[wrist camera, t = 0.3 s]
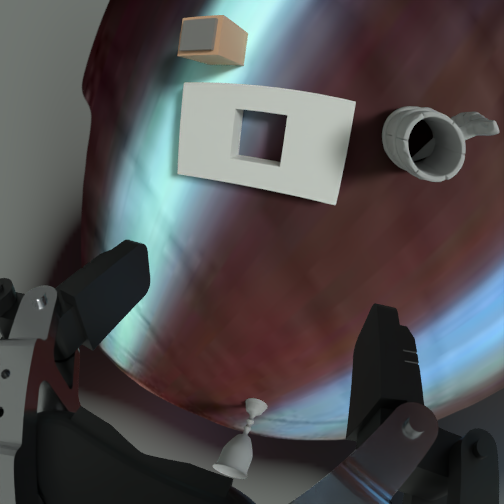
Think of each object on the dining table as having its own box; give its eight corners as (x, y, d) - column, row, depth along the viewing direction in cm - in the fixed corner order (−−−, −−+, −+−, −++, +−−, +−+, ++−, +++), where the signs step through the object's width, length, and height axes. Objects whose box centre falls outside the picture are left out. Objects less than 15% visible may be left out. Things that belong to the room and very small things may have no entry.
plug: (213, 33, 29) (180, 17, 21) (248, 33, 28) (221, 13, 20) (209, 64, 31) (174, 55, 23) (243, 65, 30) (215, 53, 23)
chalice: (278, 409, 57) (255, 478, 42) (256, 415, 61) (232, 478, 45) (255, 392, 56) (227, 463, 41) (235, 399, 60) (205, 464, 44)
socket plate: (195, 83, 32) (183, 82, 30) (354, 103, 28) (355, 101, 26) (188, 169, 38) (177, 174, 36) (336, 198, 34) (335, 205, 32)
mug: (368, 121, 29) (383, 123, 19) (448, 87, 23) (493, 78, 13) (396, 179, 31) (421, 209, 21) (472, 145, 25) (523, 162, 15)
